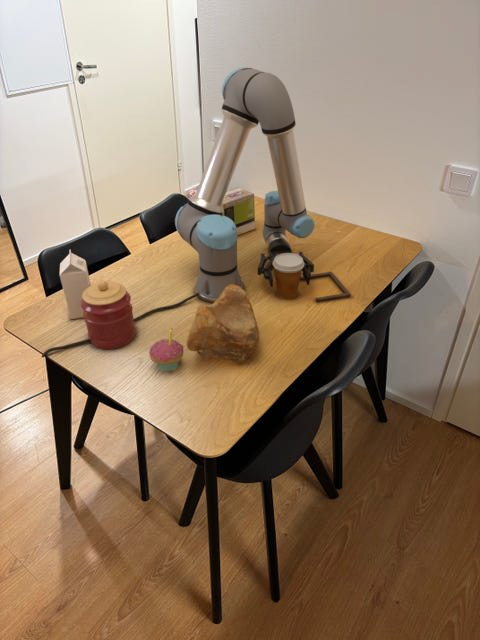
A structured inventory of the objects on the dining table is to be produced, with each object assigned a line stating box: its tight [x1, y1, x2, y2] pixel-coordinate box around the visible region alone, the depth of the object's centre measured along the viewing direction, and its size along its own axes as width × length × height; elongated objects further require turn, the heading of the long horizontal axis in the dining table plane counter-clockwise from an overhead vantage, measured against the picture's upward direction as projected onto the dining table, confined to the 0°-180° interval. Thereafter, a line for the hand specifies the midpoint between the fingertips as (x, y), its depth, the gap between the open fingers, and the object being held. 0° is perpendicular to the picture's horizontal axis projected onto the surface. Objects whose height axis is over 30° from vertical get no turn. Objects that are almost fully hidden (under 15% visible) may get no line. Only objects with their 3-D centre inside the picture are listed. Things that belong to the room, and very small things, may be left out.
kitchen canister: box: [81, 279, 137, 350], centre depth 132 cm, size 13×13×18 cm
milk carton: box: [59, 249, 92, 320], centre depth 142 cm, size 7×7×19 cm
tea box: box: [221, 187, 256, 236], centre depth 188 cm, size 15×10×15 cm
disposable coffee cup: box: [273, 252, 304, 300], centre depth 151 cm, size 10×10×12 cm
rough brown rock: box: [186, 284, 260, 364], centre depth 127 cm, size 23×17×15 cm
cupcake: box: [148, 327, 184, 372], centre depth 123 cm, size 9×8×12 cm
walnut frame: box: [300, 271, 352, 303], centre depth 157 cm, size 11×15×1 cm
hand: (290, 282), depth 147 cm, fingers open, 10 cm apart
